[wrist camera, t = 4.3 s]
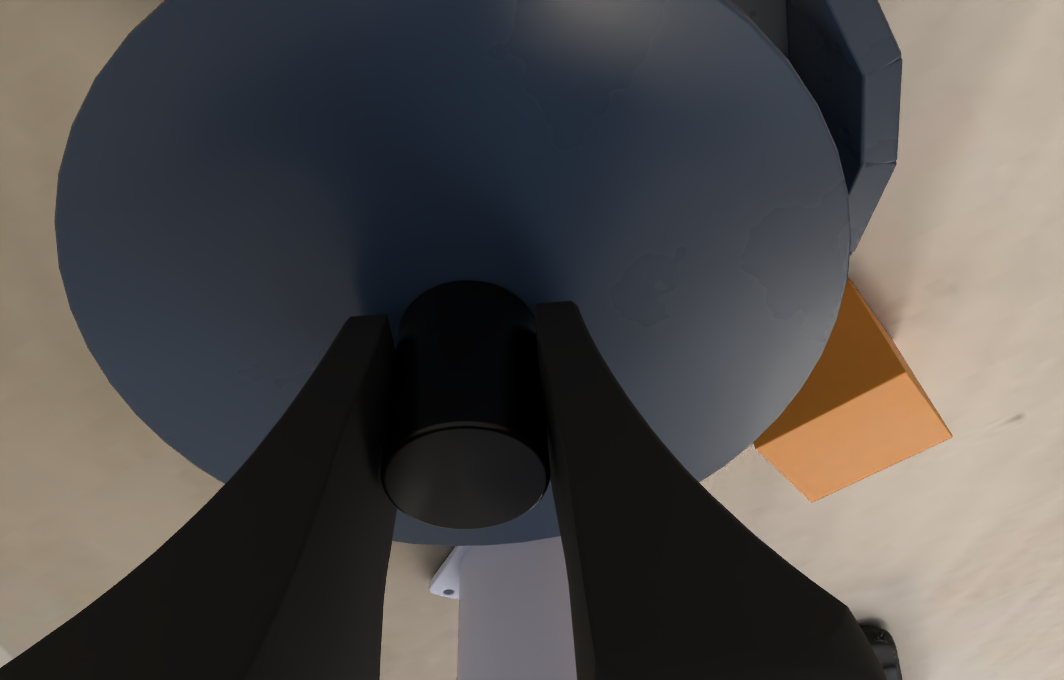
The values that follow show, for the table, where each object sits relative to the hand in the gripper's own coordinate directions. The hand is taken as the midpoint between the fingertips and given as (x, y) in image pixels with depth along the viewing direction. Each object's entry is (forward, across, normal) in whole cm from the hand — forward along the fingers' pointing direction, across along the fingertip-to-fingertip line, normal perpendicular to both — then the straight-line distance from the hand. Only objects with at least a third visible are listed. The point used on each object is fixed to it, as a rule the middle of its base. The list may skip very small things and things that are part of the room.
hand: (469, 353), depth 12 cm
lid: (+1, 0, 0) cm, 1 cm away
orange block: (+10, -11, +10) cm, 18 cm away
